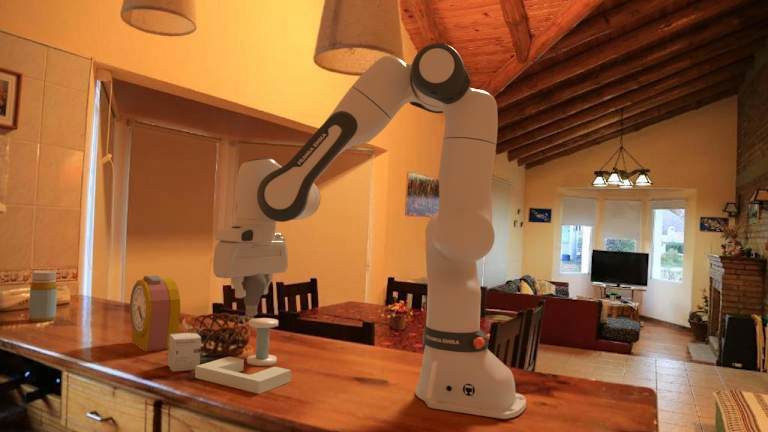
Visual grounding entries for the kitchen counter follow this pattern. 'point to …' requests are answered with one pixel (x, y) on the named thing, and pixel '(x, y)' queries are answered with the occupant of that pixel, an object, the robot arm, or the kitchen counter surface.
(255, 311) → the light bulb
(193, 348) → the skincare box
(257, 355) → the bobbin
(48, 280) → the bottle
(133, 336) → the alarm clock
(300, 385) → the kitchen counter surface
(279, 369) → the notched board
